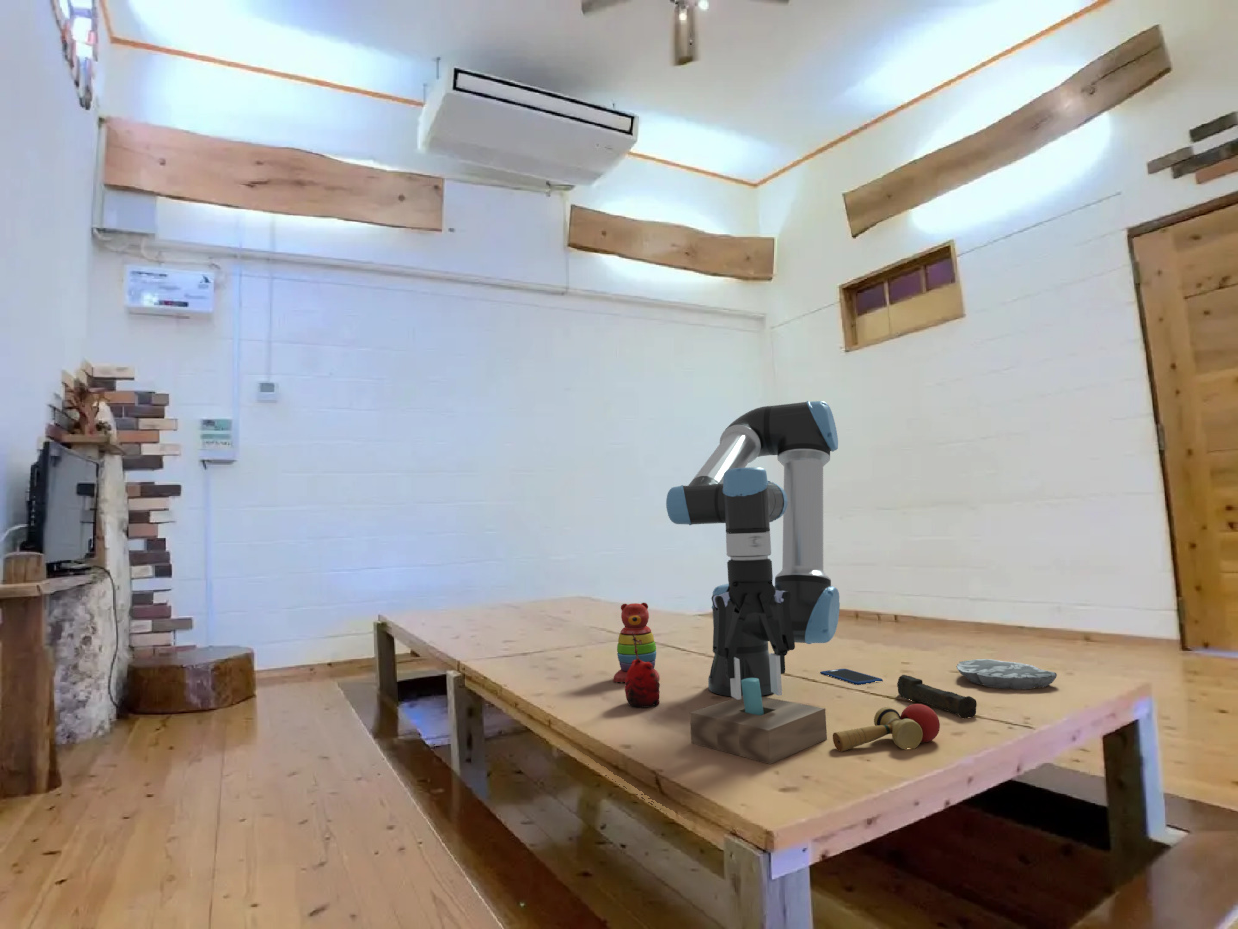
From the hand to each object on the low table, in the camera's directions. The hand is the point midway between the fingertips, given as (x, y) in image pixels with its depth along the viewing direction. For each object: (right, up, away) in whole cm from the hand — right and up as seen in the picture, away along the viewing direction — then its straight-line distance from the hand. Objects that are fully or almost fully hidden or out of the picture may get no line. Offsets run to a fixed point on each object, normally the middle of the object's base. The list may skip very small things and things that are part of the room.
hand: (756, 695), depth 120 cm
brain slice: (+59, -8, +33) cm, 68 cm away
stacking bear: (-19, -12, +50) cm, 54 cm away
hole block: (0, -7, -1) cm, 7 cm away
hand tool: (+36, -8, +16) cm, 41 cm away
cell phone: (+30, -10, +43) cm, 53 cm away
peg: (0, -7, -1) cm, 7 cm away
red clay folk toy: (-18, -10, +26) cm, 33 cm away
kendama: (+20, -7, -5) cm, 22 cm away
